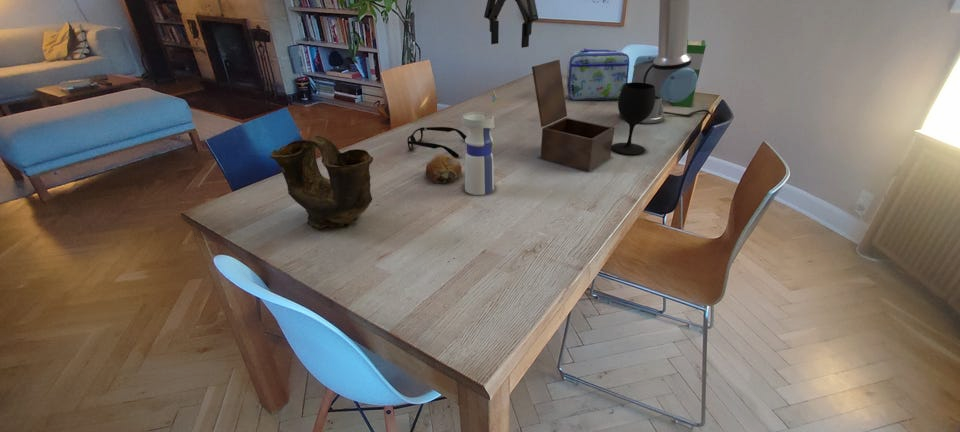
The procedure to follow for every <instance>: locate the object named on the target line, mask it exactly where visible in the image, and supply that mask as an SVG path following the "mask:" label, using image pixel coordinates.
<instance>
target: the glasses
mask: <svg viewBox="0 0 960 432" xmlns="http://www.w3.org/2000/svg"><path fill="white" fill-rule="evenodd" d="M418 131H420V139H419V140H418V141H417V140H416V137H415V134H416V133H417V132H418ZM424 131H436V132H446V133H451V132H456V133H457V134H458V135H459V136H460V137H461V138H462V139H463V141H464V142H465V138H466V137H467V134H465V133H464V132H463V131H461V130H460V129H458V128H454V127H448V126H428V127H426V126H425V127H424V126H422V127H419V128H417V129H415V130H414V131H413V132H412V133H411V134H410V135H408V137H407V140H406V142H407V146H408V147H407V148H408V149H409V151H410V152H411V151H413V148H414V145H415V146H420V147H425V148H428V149H429V148H430V149H433V150H435V149H439V148H440V149H444V150H445V151H446V152H447V153H448V154H449V155H450V156H452V157H454V158H455V159H457V158H459V157H460V154H459V153H457V152H456V151H455V150H454V149H452V148H450V147H449V146H446V145H442V144H438V143H434V142H426V141H422V140H423V137H424Z"/></svg>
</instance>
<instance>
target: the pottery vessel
mask: <svg viewBox="0 0 960 432" xmlns="http://www.w3.org/2000/svg"><path fill="white" fill-rule="evenodd" d="M316 148H317V149H318V150H319V152H320V155H321V163H322V165H323V166H324V167H325V168H326V171H327V174H328V178H327V177H325V176H323V175H322V173H321V170H320V168H319V165H318V162H317V157H316ZM269 158H271V159H272V160H274V161H275V162H276V164H277V166H278V167H279V168H280V171H281V174H282V175H283V177H284V180H285V183H286V186H287V194H288V195H289V196H290V197H291V199H292V200H294V201H295V202H296V204H298V205H300V206H301V207H302V208H303V209H305V212H306V213H307V222H306V223H307V224H308V225H309V226H311V227H313V228H315V229H317V230H321V229H323V228H326V227H343V226H345V225H346V224H347V226H351V225H352V224H354V222H356V221H358V216H359V215H360V214H362V213H364V212H365V211H366V210H367V209H368V208H369V206H370V204H371V203H372V202H373V196H372V192H371V172H370V166H371V164H372V163H373V161H374V157H373V156H372V155H370V152H369V151H367V150H365V149H359V148H356V149H349V150H346V151H343V152H341V151H340V150H339V148H338V146H337V145H335V143H334V142H333V141H332V140H330V139H328V138H327V137H325V136H323V135H315V136H314V137H313V138H308V139H302V140H293V141H290V142H289V143H288V144H286V145H282V146H281V147H279V148H278V149H277V150H276V149H273V150H272V151H271V152H270V154H269Z"/></svg>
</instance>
